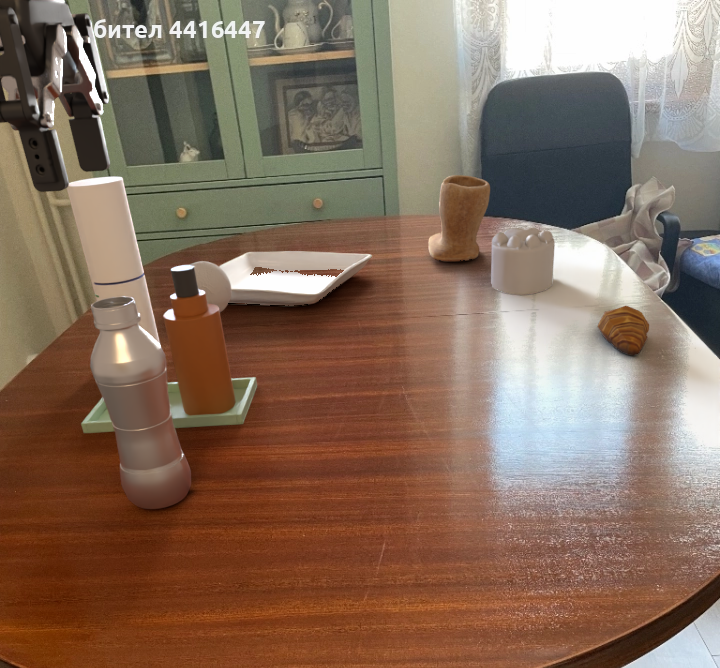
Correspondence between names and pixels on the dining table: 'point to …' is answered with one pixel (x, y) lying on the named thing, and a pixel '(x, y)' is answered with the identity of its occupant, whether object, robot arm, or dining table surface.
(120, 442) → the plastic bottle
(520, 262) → the lumpy-topped squat cylinder
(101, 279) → the cylindrical container
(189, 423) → the tray
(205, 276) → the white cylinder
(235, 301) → the square plate
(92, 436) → the dining table surface
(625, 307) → the croissant
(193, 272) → the amber bottle
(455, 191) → the clay boot
